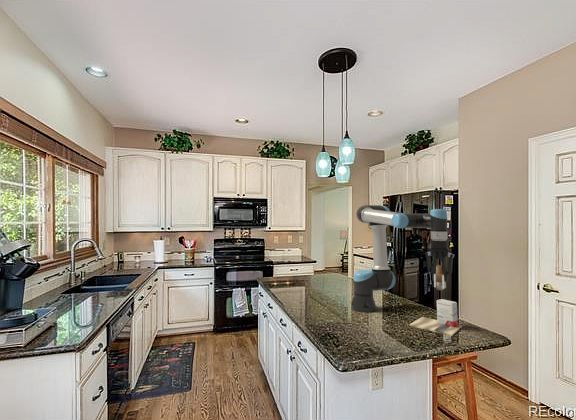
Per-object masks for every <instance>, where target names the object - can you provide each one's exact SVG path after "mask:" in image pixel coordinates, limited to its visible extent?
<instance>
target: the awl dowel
mask: <svg viewBox="0 0 576 420" xmlns="http://www.w3.org/2000/svg"><path fill="white" fill-rule="evenodd" d="M435 274H436V287H435V288H436V290H437V291H444V289H442V275H443V274H444V272H443V267H442V264H437V265H436V273H435Z"/></svg>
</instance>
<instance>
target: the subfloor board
mask: <svg viewBox="0 0 576 420" xmlns="http://www.w3.org/2000/svg"><path fill="white" fill-rule="evenodd" d="M409 326H410V327H413V328H416V329H417V328H418V329H422V330H425V331H430V332H434V333H438V334H442V335H446V336H450V337H453V336H454V335H455V334H456V333H458V332H459V329H460V328H461V329H462V328H463V325H461V324H458V325H457V326H455V327H452V326H449V325H445V324H441V323H438V322H437V319H434V318H429V317H426V316H424V317H423V316H421V317H420V318H417V319H416V320H415V321H413V322H411V323H410V324H409ZM461 329H460V330H461Z"/></svg>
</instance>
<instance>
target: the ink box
mask: <svg viewBox="0 0 576 420" xmlns="http://www.w3.org/2000/svg"><path fill="white" fill-rule="evenodd" d="M436 318H437V319H436V320H437V322H438V323H441V324H445V325H449V326H452V327H455V326H457V325H459V321H458V303H457V302H456V301H453V300H449V299H448V300H447V299H443V298H441V299H437V300H436Z"/></svg>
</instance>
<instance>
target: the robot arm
mask: <svg viewBox="0 0 576 420" xmlns="http://www.w3.org/2000/svg"><path fill="white" fill-rule="evenodd" d="M356 218H357V220H358V221H359V222H361V223H364V224H368V225H369V227H370V228H371V235H372V237H371V238H372V240H371V241H372V256H373V257H372V258H373V266H372V267H371V269H359V270H356V271H355V272H354V273H353V278H352V279H353V297H352V299H351V300H352V301H351V303H350V308H351V309H352V310H353V311H355V312H361V313H373V312H376V311H377V304H376V301H375V298H374V292H375V291H387V290H390V289H392V288H393V287H394V286H395V285H396V276H395V274H394V272H393V271H392V270H391V267H390V266H388V265H389V264H388V262H389V261H388V248H387V231H386V229H387V227H388V226H391V227H394V228H396V229H414V228H415V229H430V239H431V240H430V250H429V251H427V252H424V255H425V257H426V266H427V272H428V273H431V280H432V281H433V287H434V288H437V287H436V265H438V261H439V260H440V261H441V265H442V267H443V275H442V289H443V290H445V289H447V282H448V281H449V275H451V274H452V273H453V260H454V258H455V255H456V254H454V253H451V252H450V251H449V248H448V245H449V244H448V243H449V242H448V241H447V240H448V212H447V210H446V209H445V208H439V209H438V208H435V209H433V208H432V209H431V210H430V213H404V212H397V211H395V212H394V211H391V210H390V209H389V207H387V206H386V205H380V204H379V205H375V204H373V205H371V204H370V205H368V204H365V205H364V204H363V205H361V206H360V207H358V209H357V211H356ZM431 256H432V257H433V259H432V257H431ZM447 256H448V263H447V261H446V260H447V259H446V258H447ZM432 260H433V261H432ZM447 265H448V266H447Z"/></svg>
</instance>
